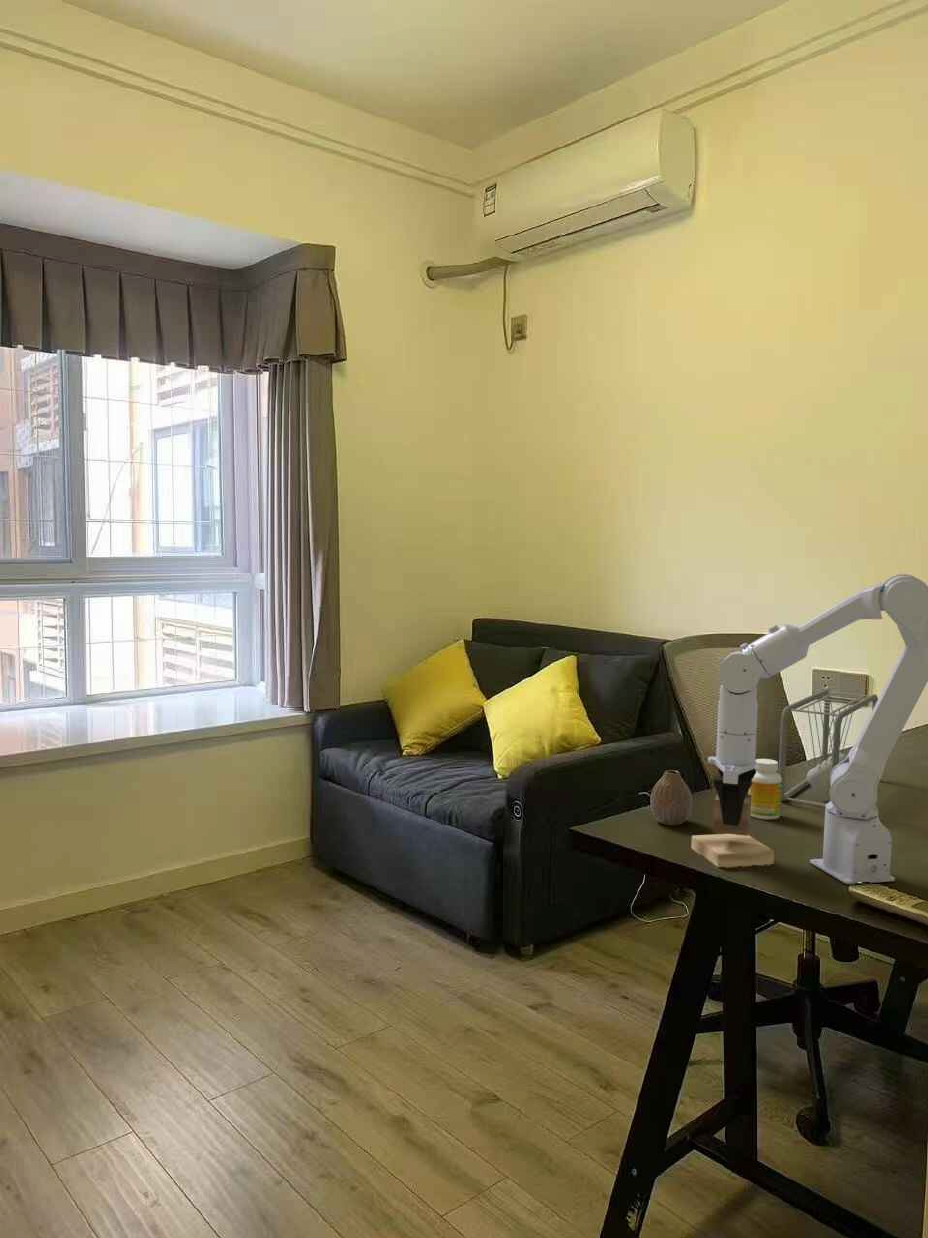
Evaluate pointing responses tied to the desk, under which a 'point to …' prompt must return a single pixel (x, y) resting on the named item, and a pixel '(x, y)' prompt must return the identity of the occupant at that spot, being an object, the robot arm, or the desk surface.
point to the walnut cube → (731, 829)
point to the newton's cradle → (822, 771)
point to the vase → (671, 799)
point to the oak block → (732, 850)
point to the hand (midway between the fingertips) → (732, 819)
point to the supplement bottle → (766, 790)
